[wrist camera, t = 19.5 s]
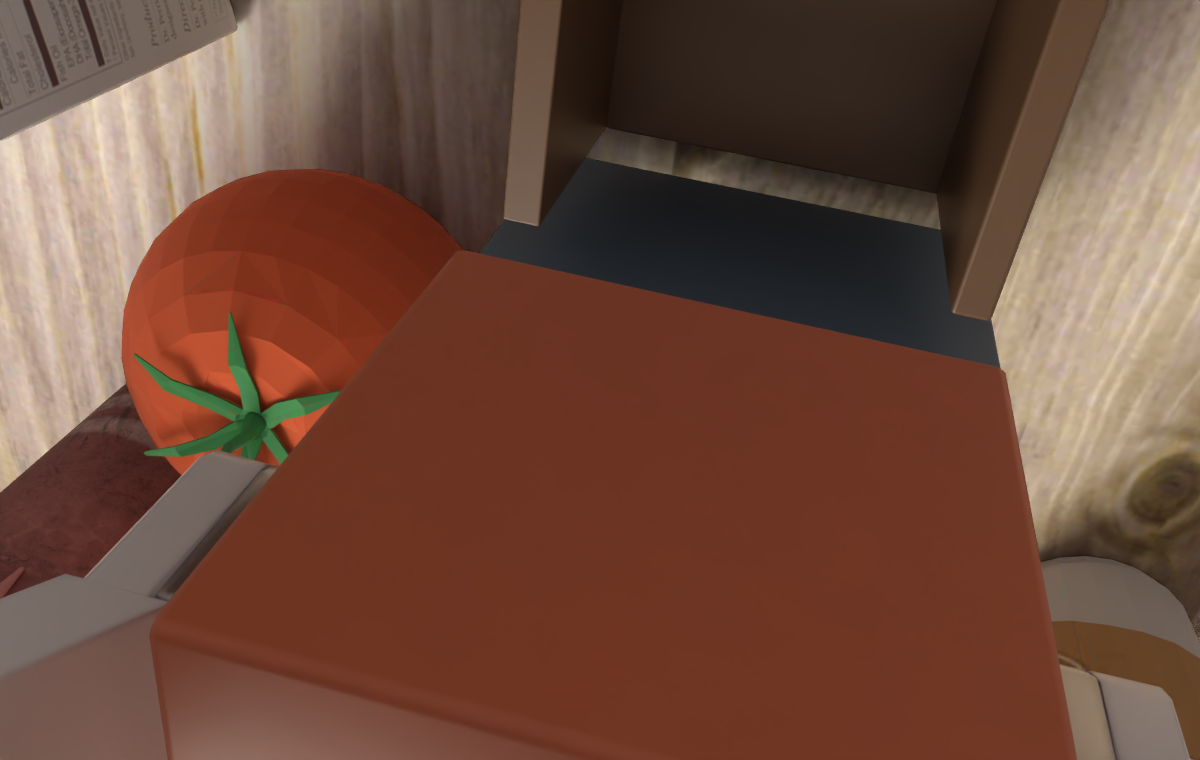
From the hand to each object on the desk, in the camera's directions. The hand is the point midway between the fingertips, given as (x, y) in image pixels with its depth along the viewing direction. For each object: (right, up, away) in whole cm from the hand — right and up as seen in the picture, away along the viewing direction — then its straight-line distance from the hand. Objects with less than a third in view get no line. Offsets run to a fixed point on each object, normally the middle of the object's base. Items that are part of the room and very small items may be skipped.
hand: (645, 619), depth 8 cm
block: (0, +1, +1) cm, 1 cm away
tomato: (-7, +5, +25) cm, 27 cm away
